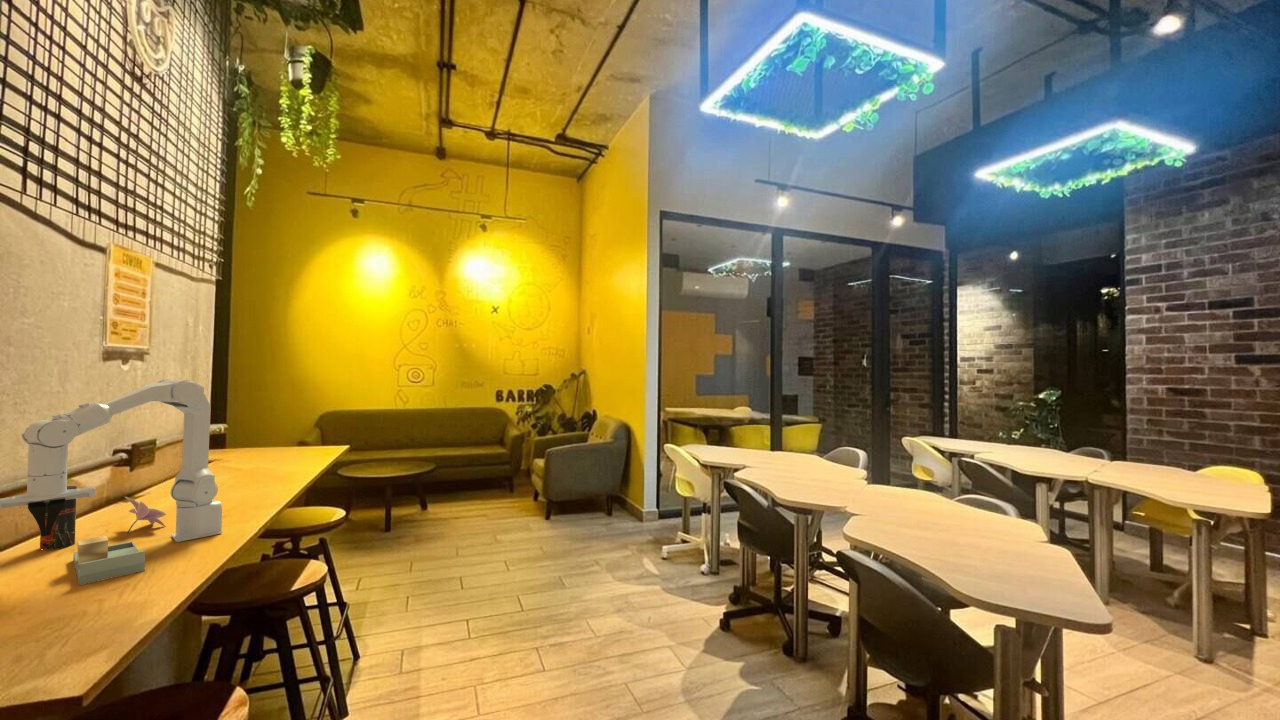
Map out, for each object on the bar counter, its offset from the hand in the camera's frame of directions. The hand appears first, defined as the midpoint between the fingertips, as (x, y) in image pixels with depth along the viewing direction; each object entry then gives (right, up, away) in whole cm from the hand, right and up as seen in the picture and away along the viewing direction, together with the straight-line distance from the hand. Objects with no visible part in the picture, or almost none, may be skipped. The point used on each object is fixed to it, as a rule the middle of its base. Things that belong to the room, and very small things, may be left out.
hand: (45, 534), depth 110 cm
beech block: (+5, -8, +5) cm, 10 cm away
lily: (-10, -10, +32) cm, 35 cm away
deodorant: (-19, -10, +18) cm, 28 cm away
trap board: (+7, -10, +7) cm, 14 cm away
